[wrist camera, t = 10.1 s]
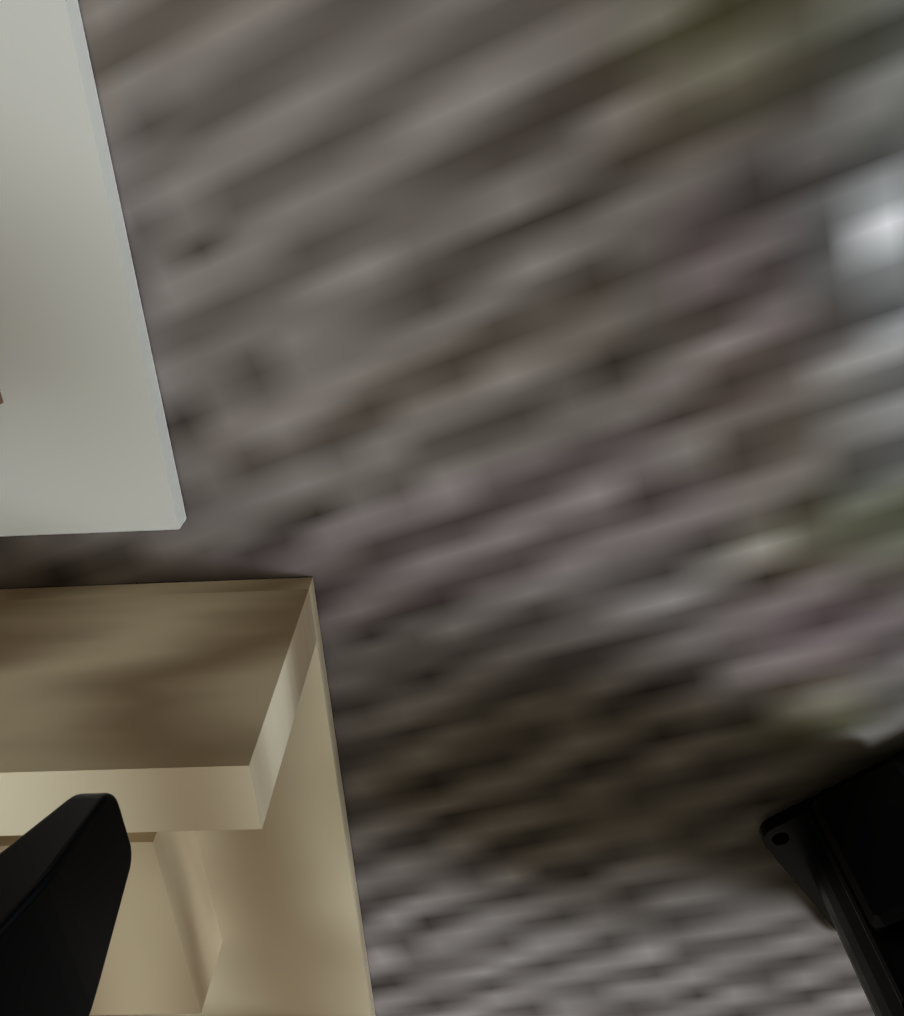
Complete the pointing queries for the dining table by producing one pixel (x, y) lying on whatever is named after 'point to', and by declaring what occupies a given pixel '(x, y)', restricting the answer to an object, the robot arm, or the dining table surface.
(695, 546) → the dining table surface
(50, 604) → the slot box
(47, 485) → the grey mat
